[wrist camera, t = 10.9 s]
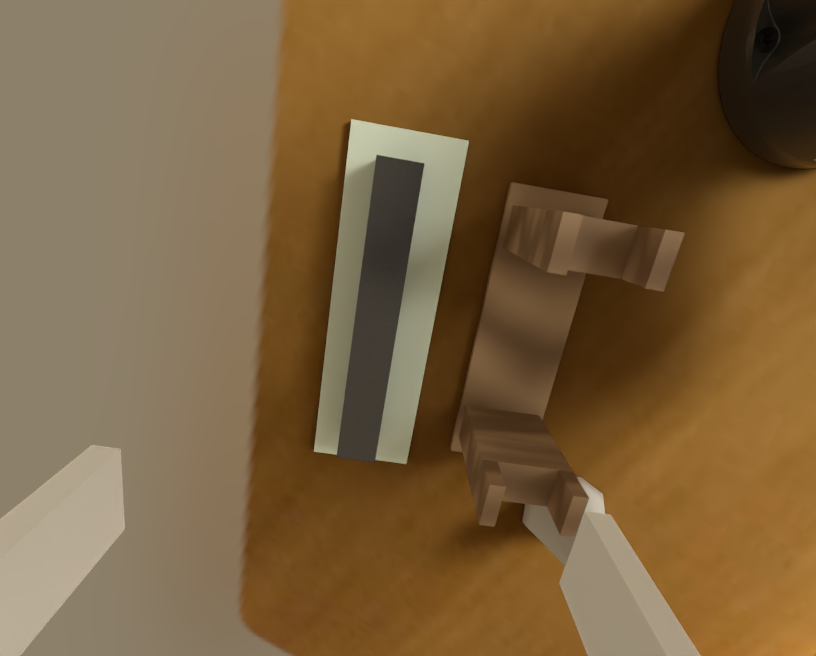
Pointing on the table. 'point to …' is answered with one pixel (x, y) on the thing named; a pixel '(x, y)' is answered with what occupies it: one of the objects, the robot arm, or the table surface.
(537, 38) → the table surface
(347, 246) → the mat
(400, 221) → the rail
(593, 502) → the flask
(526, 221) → the rack
